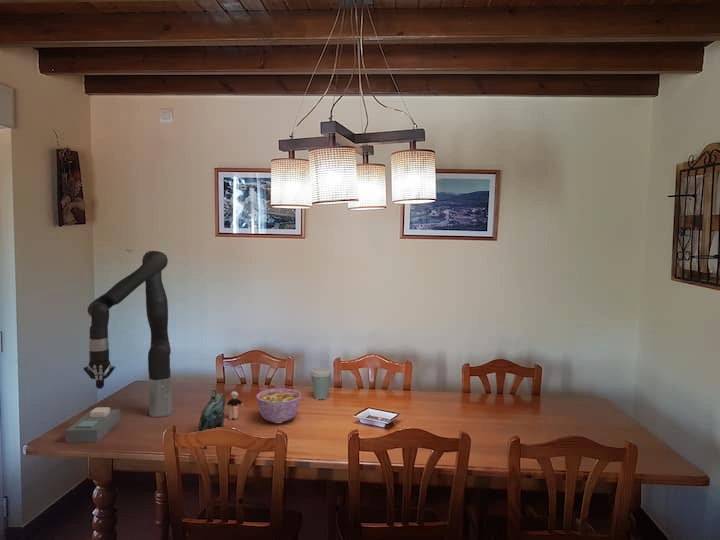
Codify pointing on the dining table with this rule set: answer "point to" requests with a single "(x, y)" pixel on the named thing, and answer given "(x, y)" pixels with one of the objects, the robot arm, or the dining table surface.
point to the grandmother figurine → (234, 405)
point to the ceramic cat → (213, 412)
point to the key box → (92, 433)
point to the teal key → (87, 424)
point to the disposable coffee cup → (320, 382)
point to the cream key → (100, 412)
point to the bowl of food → (278, 404)
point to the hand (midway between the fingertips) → (100, 388)
